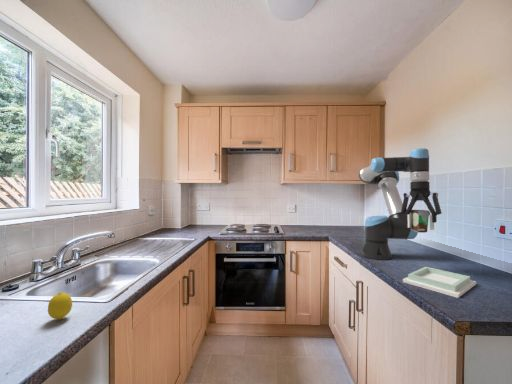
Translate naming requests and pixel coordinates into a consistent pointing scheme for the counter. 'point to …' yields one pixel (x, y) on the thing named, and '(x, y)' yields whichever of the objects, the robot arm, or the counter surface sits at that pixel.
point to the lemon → (59, 306)
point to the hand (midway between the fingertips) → (420, 228)
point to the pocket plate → (440, 281)
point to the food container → (420, 220)
